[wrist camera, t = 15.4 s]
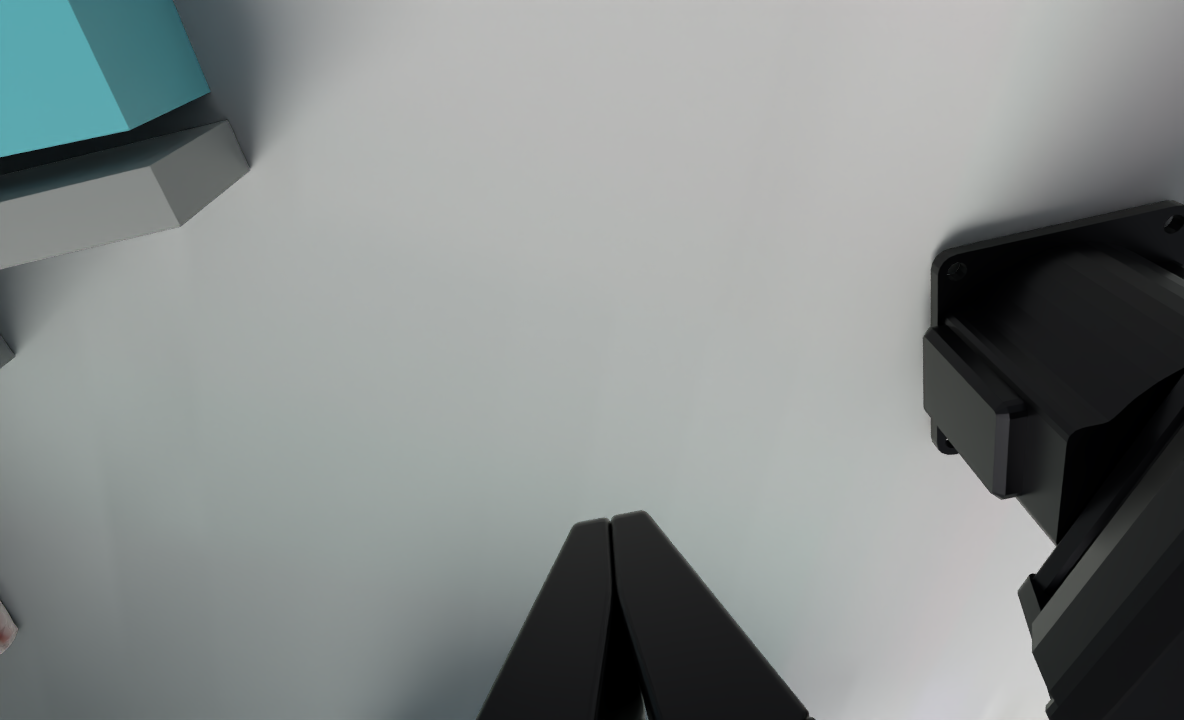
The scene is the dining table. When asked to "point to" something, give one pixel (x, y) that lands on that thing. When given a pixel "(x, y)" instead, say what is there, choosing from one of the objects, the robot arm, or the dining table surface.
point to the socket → (114, 195)
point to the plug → (90, 69)
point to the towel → (6, 629)
